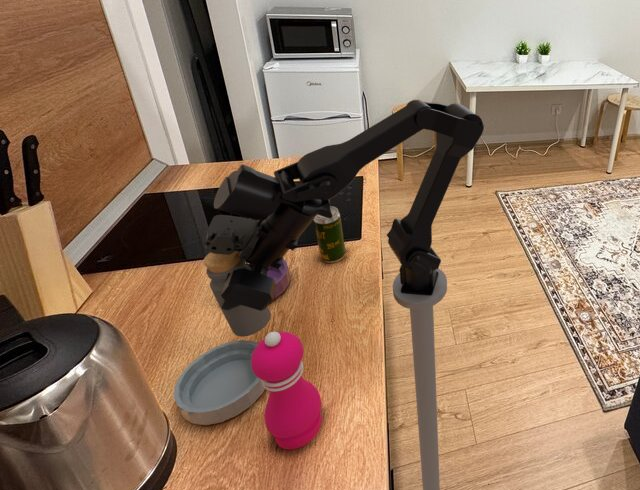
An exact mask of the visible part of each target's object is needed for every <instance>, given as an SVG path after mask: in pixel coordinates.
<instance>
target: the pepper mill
mask: <svg viewBox="0 0 640 490" xmlns="http://www.w3.org/2000/svg"><path fill="white" fill-rule="evenodd" d="M304 352H305V351H304V345H303V342H302V341H301V340H300V338H299V336H297V335H296V334H294V333H292V332H288V331H279V332H278V331H271V332H268V333H267V334H266V336H265V337H264V338H263V339H262V340H261V341H259V342H258V345H257V346H256V348H255V349H254V351H253V354H252V358H251V367H252V370H253V372H254V374H255V375H256V377H258V378H260V379H261V381H262V385H263V387H264V388H265V390H267V391H268V392H269V396H268V399H267V401H266V404H265V408H264V415H263V417H264V424H265V428H266V430H267V431H268V432H269V434H271V436H273V438H274V440H275V442H276V444H277V446H279V447H280V448H281V449H284V450H287V451H288V450H297V449H299V448H302V447H304V446H305V445H307V444H308V443H309V442H311V441H312V440H313V439H314V438H315V436H316V435H317V434H318V433H319V431H320V428H321V427H322V412H321V408H322V397H321V394H320V392H319V390H318V389H317V387H316V386H315V385H314V384H313V383H312V382H311V381H308V380H307V379H305V378H304V377H303V376H302V374H303V372H304V363H303V358H304Z"/></svg>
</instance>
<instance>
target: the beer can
mask: <svg viewBox="0 0 640 490" xmlns="http://www.w3.org/2000/svg"><path fill="white" fill-rule="evenodd" d="M330 208H331V212H332V218H326V217H323V216H320V215H317V216H316V217H315V218H314V219H313V220H312V222H313V225H314V226H313V227H314V231H315V235H316V236H315V237H316V241H317V246H318V251H319V256H320V259H321V260H322V261H323V262H324V263H326V264H335V263H338V262H340V261H342V260H343V259H344V258H345V255H346V253H347V249H346V243H345V237H344V232H343V225H342V218H341V213H340V211H339V208H337V207H336V206H332V205H330Z"/></svg>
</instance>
